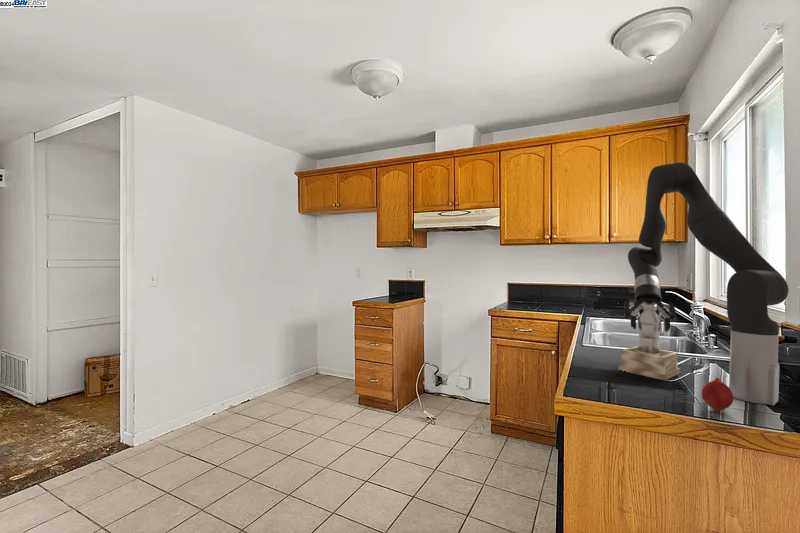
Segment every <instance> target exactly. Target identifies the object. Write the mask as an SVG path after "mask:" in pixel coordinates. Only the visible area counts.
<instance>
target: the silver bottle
mask: <svg viewBox="0 0 800 533" xmlns="http://www.w3.org/2000/svg"><path fill="white" fill-rule="evenodd" d="M643 310H644V311H643V312H642V314H641V315H640V316H639V317H637V326H638V345H637V346H638V351H637V352H638V353H644V354H649V355H655V356H660V353H659V350H660V344H659V343H660V332H661V327H662V319H660V317H659V316H658V314H657V313H656V310H657V309H656V304H643Z"/></svg>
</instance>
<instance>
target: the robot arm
mask: <svg viewBox="0 0 800 533" xmlns="http://www.w3.org/2000/svg"><path fill="white" fill-rule="evenodd" d="M672 193H680V195H681V196H682V197H683V199H685V201H686V202H687V204H688V208H687V215H686V216H687V217H686V224H687V228H688V229H689V231H690V232H691V233H692V235H693V236H694V238H695V239H696V240H697V241H698V243H699V244H700V245H701V246H702V247H703V248H704V249H705V250H707V251H709V252H710V253H711V254H714V256H716V257H717V258H719V259H720V260H722V261H723V262H724V263H726V264H727V265H729V267H730V268H731V269H732V270H733V271H734V272H735V273H733V274H732V275H731V276H730V278H729V280H728V283H727V286H726V310H727V311H726V313H727V314H726V315H727V318H728V321H729V324H730V345H729V347H730V350H729V351H730V352H729V372H728V373H729V375H728V376H729V377H728V378H729V379H728V381H729V382H728V387H729V388H730V390H731V391H732V394H733V399H737V400H740V401H743V402H744V401H745V402H748V403H754V404H758V405H759V404H760V405H770V406H773V407H774V406H775V405H776V404H777V403H778V402H779V394H780V392H779V390H780V388H779V387H780V363H778V362H779V341H780V340H779V338H780V337H779V336H780V335H779V334H780V326H779V324H778V322H776V321H775V320H772V318H770V316H769V311H768V310H769V309H768V306H775V305H779V304H781V303H783V302H784V301H785V300H786V299H787V298H788V294H789V285H788V282H787V281H786V279H785V278H784V277H783V275H782V274H781V273H780V272H779V271H778V270H777V269H776V268H775V267H773V266H772V265H771V264H770V263H769V262H768V260H766V259H765V258H764V257H763V256H762V255H761V254H760V253H759V252H758V250H756V249H755V248H754V246H752V244H751V243H750V241H749V240H747V238H746V236H744V234H743V233H742V232H741V231H740V230H739V228H738V227H737V226H736V225H735V223H734V222H733V221H732V219H731V218H730V217H729V216H728V215H727V213H726V212H725V211H724V210H723V209H722V208H721V207H720V206H719V204H718V202H716V201H715V200H714V198H713V197H712V196H711V195H710V193H709V192H708V190H707V189H706V188H705V186H704V184H703V183H702V181H701V180H700V178H699V177H698V175H697V172H695V171H694V169H693V167H692V166H691V165H689V164H688V163H686V162H682V161H680V162H672V163H665V164H660V165H657V166H654V167H653V168H652V169H651V171H650V172H649V175H648V178H647V185H646V194H645V195H646V196H645V208H644V210H645V211H644V218H643V222H642V226H641V230H640V232H639V237H638V242H639V244H640V245H642V246H643V247H641V246H635V247H632V248H631V249H630V250H629V251H628V255H627V260H628V264H629V266H630V268H631V269H632V272H633V273H634V288H633V289H634V290H633V291H634V302H632V301H631V302H630V301H629V299H626V300H625V301H624V311H623V312H624V314H623V318H624V319H630V320H629V321H630V328H632V329H633V330H636V329H637V319H638V318H639V316H640V315H641V314H642V312H643V311H644V310H643V304H656V309H657V310H656V313H657V314H658V316H659V317H660V319H661V321H663V328H664V330H663V331H664V332H666V333H667V332H668V331H670V329H671V322H672V323H675V322H676V319H677V312H676V309H675V304H674V303H673V302H669V303H667V304H666V303H665V304H664V303H663V301H662V292H661V291H662V290H661V284H660V282H659V273H658V269H657V267H659V266H660V265H661V263H662V259H663V258H662V243H663V239H664V235H665V232H666V229H667V219H666V217H665V214H664V211H663V210H662V205H661V204H662V200H663V197H664V196H665V194H667V195H668V194H672ZM632 308H634V311H632V312H630V309H632ZM664 309H665V310H666V311H667V312H668V313H669V314H668V313H666V311H665V310H664Z"/></svg>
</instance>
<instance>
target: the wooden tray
mask: <svg viewBox="0 0 800 533" xmlns="http://www.w3.org/2000/svg"><path fill="white" fill-rule="evenodd" d="M638 346H639V345H634V346H631V347H627V348H624V349H622V350H620V351H621V354H620V355H621V356H620V364H619V365H618V371H620V370H622V371H621V372H624V371H626V373H629V372H630V374H635V375H639V376H644V377H648V378H653V379H657V380H661V381H666V380H668V379H670V378H673V377H675V376H676V375H679V374H680V373H681V372H680V370H681V368H679V367H678V360H679V358H678V357H679V352H676V351H671V350H665V349H659V353H660V356H655V355H649V354H644V353H638V352H637V351H638Z"/></svg>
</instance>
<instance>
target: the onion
mask: <svg viewBox="0 0 800 533" xmlns="http://www.w3.org/2000/svg"><path fill="white" fill-rule="evenodd" d="M701 396H702V401H704V403H705V404H707V405H708V406H709V407H710V408H711V409H712V410H713V411H714V412H722V411H724V410H725V409H727V408H729V407H731V406H732V405H733V402H734V397H733V394H732V391H731V390H730V388H729V385H727V384H725V383H724V382H723V381H722V379H721V378H720V377H715V379H714V380H712V381H709V382H707V383H705V384H704V386H703V387H702V389H701Z"/></svg>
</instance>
